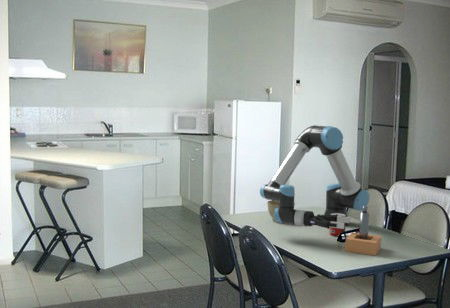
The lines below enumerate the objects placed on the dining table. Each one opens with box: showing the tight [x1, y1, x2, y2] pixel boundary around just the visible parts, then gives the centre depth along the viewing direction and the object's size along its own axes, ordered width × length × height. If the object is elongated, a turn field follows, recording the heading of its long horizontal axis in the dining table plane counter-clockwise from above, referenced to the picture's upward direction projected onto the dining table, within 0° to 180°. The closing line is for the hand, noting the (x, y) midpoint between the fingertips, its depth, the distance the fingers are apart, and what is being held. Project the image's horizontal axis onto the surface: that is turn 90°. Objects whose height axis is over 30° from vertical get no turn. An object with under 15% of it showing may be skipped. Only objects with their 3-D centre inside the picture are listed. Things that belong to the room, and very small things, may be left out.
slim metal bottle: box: [359, 205, 370, 240], centre depth 258 cm, size 4×4×21 cm
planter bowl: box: [266, 200, 296, 222], centre depth 317 cm, size 16×16×11 cm
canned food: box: [329, 213, 346, 237], centre depth 286 cm, size 8×8×11 cm
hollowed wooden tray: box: [344, 232, 382, 256], centre depth 258 cm, size 14×14×6 cm
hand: (347, 223), depth 261 cm, fingers open, 13 cm apart
